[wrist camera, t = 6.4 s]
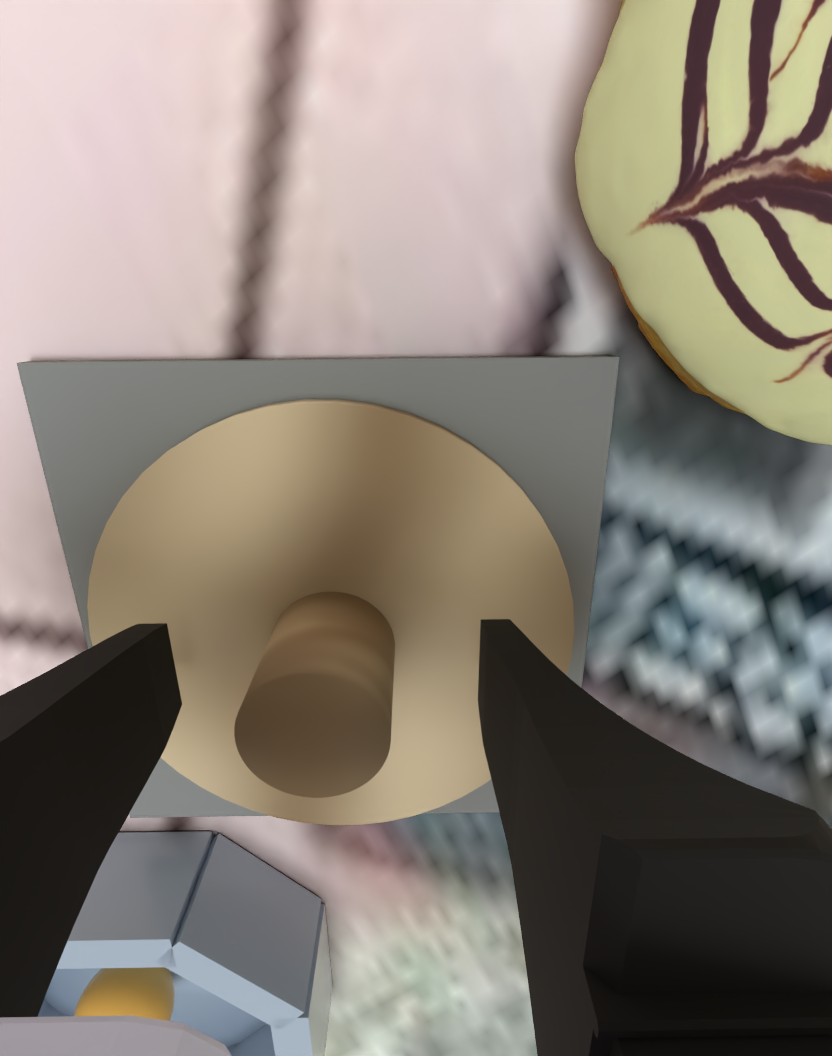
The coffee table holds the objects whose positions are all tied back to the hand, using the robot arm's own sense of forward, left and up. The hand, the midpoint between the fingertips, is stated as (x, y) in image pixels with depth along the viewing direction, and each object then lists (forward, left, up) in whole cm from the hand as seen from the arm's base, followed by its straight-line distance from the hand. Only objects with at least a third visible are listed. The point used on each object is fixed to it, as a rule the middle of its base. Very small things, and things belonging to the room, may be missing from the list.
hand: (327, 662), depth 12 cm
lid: (0, 0, -2) cm, 2 cm away
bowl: (+6, +12, -2) cm, 14 cm away
